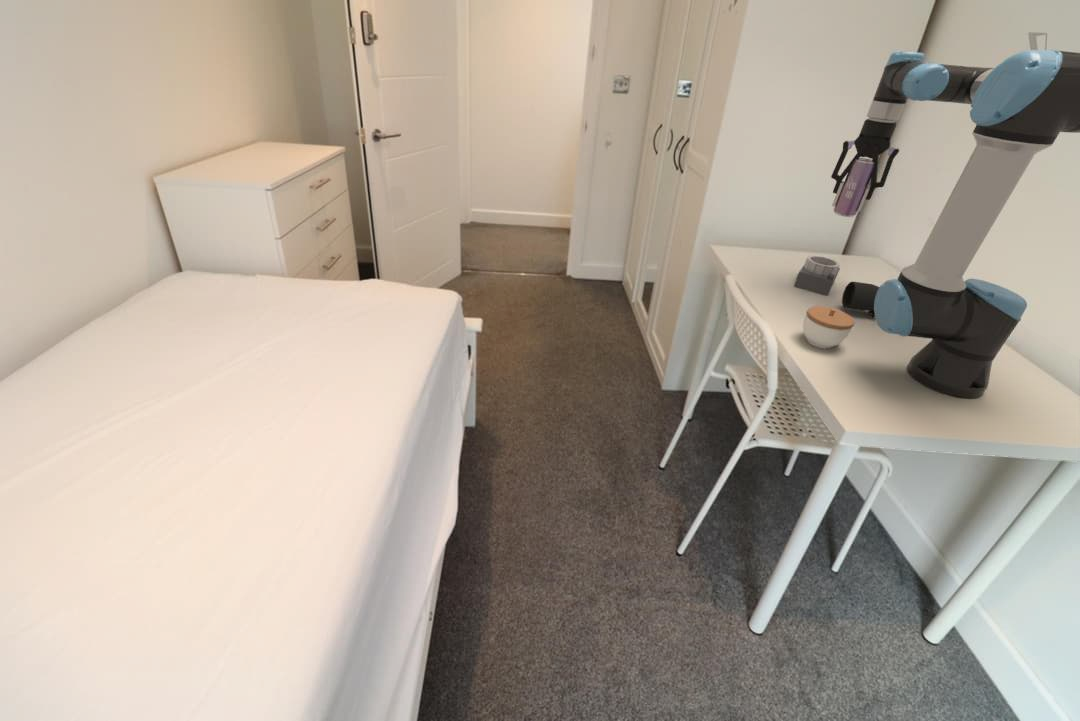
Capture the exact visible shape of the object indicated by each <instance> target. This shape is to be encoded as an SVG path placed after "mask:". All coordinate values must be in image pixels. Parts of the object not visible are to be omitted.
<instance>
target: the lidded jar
mask: <svg viewBox="0 0 1080 721" xmlns="http://www.w3.org/2000/svg"><path fill="white" fill-rule="evenodd" d="M854 325H855V320H854V318H853V317H852V316H851V315H850V314H848V313H846V312H844V311H842V310H839V309H837V308H833V307H828V306H821V305H816V306H815V305H814V306H811V307H808V309H807V310H806V314H805V317H804V320H803V325H802V326H803V327H802V331H803V333H804V336H805V338H806V341H807V343H809V344H810V345H812V346H813V347H816V348H820V349H826V348H828V349H831V347H832V348H833V347H835V346H838V345H840V344H841V343H843V342H844V341H845V340H846V338H848V336H849V334H850V332H851V330H852V328H853V327H854Z"/></svg>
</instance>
